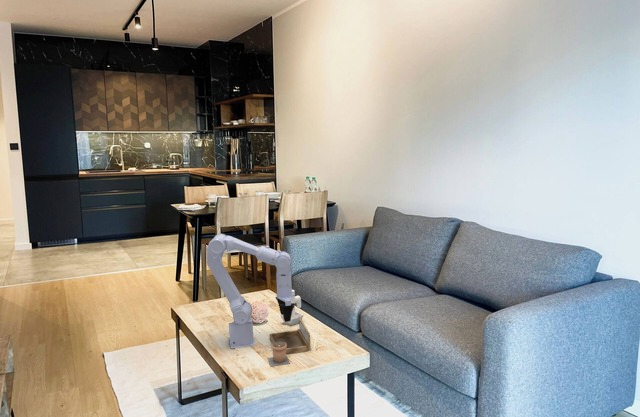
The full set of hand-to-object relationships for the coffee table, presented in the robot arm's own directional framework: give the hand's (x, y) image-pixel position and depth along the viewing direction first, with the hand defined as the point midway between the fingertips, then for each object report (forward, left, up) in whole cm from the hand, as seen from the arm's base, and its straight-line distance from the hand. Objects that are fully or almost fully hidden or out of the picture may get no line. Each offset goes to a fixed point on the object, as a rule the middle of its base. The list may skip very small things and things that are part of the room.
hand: (285, 317), depth 191 cm
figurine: (+6, +18, -10) cm, 21 cm away
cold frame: (0, -4, -10) cm, 11 cm away
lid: (+6, -4, -10) cm, 12 cm away
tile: (-6, -17, -10) cm, 20 cm away
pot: (-6, -16, -9) cm, 19 cm away
